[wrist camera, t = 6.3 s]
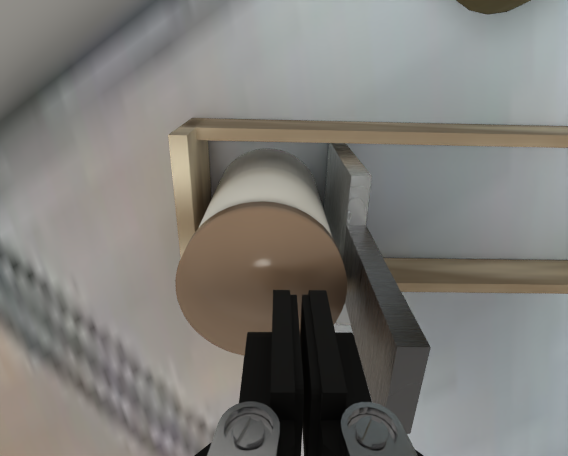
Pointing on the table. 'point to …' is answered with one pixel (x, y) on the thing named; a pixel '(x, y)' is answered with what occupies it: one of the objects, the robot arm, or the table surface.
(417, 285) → the wooden tray
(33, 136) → the table surface
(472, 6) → the olive brown waisted cylinder
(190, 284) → the jar
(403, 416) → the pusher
